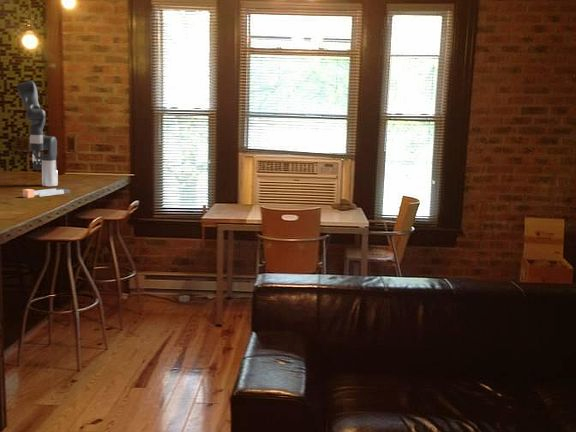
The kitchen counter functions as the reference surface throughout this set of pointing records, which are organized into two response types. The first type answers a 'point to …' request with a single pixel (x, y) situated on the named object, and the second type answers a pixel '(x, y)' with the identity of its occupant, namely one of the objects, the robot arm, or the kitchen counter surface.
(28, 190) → the block
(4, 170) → the kitchen counter surface
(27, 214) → the kitchen counter surface
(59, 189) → the tray
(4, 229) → the kitchen counter surface
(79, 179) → the kitchen counter surface
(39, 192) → the channel
